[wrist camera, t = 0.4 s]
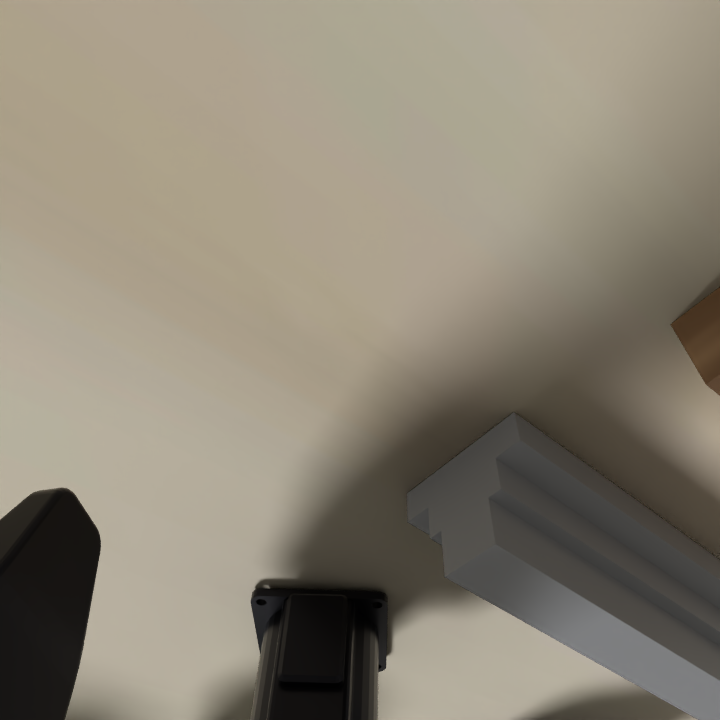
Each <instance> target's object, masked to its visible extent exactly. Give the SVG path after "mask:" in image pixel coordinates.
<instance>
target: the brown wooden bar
mask: <svg viewBox="0 0 720 720" xmlns="http://www.w3.org/2000/svg"><path fill="white" fill-rule="evenodd" d="M671 326H672V328H673V329H674V331H675V333H676V334H677V336H678V338H679V340H680V341H681V343H682V345H683V346H684V348H685V350H686V351H687V353H688V355H689V356H690V358H691V360H692V362H693V363H694V365H695V367H696V368H697V370H698V372H699V373H700V375H701V377H702V379H703V380H704V382H705V384H706V385H707V386H709V387H710V388H711V389H712V390H714V391H715V392H716V393H717V394H718V395H720V287H719V288H718V289H716V290H715V291H714V292H712V293H711V294H710V295H708V296H707V297H706V298H704V299H703V300H702V301H701V302H699V303H698V304H697V305H695V306H694V307H693V308H691V309H690V310H689V311H687V312H686V313H685V314H683V315H682V316H681V317H680V318H678V319H677V320H676V321H674V322H673V323H672V324H671Z"/></svg>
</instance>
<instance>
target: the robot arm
mask: <svg viewBox="0 0 720 720" xmlns="http://www.w3.org/2000/svg"><path fill="white" fill-rule="evenodd" d="M100 549H101V540H100V535H99V532H98V529H97V527H96V526H95V524H94V523H93V521H92V520H91V518H90V517H89V515H88V514H87V512H86V511H85V509H84V507H83V506H82V504H81V503H80V501H79V500H78V498H77V497H76V495H75V494H74V493H73V492H72V491H70V490H69V489H67V488H56V489H48V490H41V491H37V492H34V493H32V494H30V495H29V496H28V497H27V498H25V499H24V500H23V501H22V502H21V503H20V504H18V505H17V506H16V507H15V508H14V509H12V510H11V511H10V512H9V513H8V514H6V515H5V516H4V517H3V518H2V519H1V520H0V720H65V717H66V713H67V710H68V706H69V703H70V699H71V696H72V692H73V689H74V685H75V681H76V677H77V673H78V669H79V665H80V660H81V655H82V651H83V646H84V640H85V634H86V629H87V623H88V618H89V612H90V606H91V601H92V595H93V589H94V584H95V578H96V573H97V567H98V561H99V556H100ZM251 606H252V611H253V617H254V622H255V628H256V633H257V639H258V644H259V650H260V660H259V667H258V673H257V679H256V685H255V692H254V698H253V704H252V710H251V717H250V720H378V672H380V671H383V670H385V669H386V651H387V611H388V598H387V595H386V594H385V593H382V592H376V591H335V590H294V589H257V590H254V591H253V592H252V598H251Z"/></svg>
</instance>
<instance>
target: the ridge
mask: <svg viewBox="0 0 720 720" xmlns="http://www.w3.org/2000/svg"><path fill="white" fill-rule="evenodd" d="M407 521H408V523H410V524H411V525H413V526H415V527H416V528H418V529H420V530H421V531H423V532H425V533H427V534H428V535H430V539H432V540H433V541H435V542H437V543H439V544H440V545H442V550H443V563H444V577H445V578H447V579H449V580H451V581H452V582H454V583H456V584H458V585H459V586H461V587H463V588H465V589H467V590H468V591H470V592H472V593H474V594H475V595H477V596H479V597H481V598H483V599H484V600H486V601H488V602H490V603H491V604H493V605H495V606H497V607H499V608H500V609H502V610H504V611H506V612H507V613H509V614H511V615H513V616H515V617H516V618H518V619H520V620H522V621H523V622H525V623H527V624H529V625H531V626H532V627H534V628H536V629H538V630H539V631H541V632H543V633H545V634H547V635H548V636H550V637H552V638H554V639H555V640H557V641H559V642H561V643H563V644H564V645H566V646H568V647H570V648H572V649H573V650H575V651H577V652H579V653H580V654H582V655H584V656H586V657H588V658H589V659H591V660H593V661H595V662H596V663H598V664H600V665H602V666H604V667H605V668H607V669H609V670H611V671H612V672H614V673H616V674H618V675H620V676H621V677H623V678H625V679H627V680H628V681H630V682H632V683H634V684H636V685H637V686H639V687H641V688H643V689H644V690H646V691H648V692H650V693H652V694H653V695H655V696H657V697H659V698H660V699H662V700H664V701H666V702H668V703H669V704H671V705H673V706H675V707H676V708H678V709H680V710H682V711H684V712H685V713H687V714H689V715H691V716H692V717H694V718H696V719H698V720H720V560H719V559H718V558H716V557H715V556H714V555H712V554H711V553H709V552H708V551H707V550H705V549H704V548H702V547H701V546H700V545H698V544H697V543H696V542H694V541H693V540H691V539H690V538H689V537H687V536H686V535H684V534H683V533H682V532H680V531H679V530H677V529H676V528H675V527H673V526H672V525H670V524H669V523H668V522H666V521H665V520H664V519H662V518H661V517H659V516H658V515H657V514H655V513H654V512H652V511H651V510H650V509H648V508H647V507H645V506H644V505H643V504H641V503H640V502H638V501H637V500H636V499H634V498H633V497H632V496H630V495H629V494H627V493H626V492H625V491H623V490H622V489H620V488H619V487H618V486H616V485H615V484H613V483H612V482H611V481H609V480H608V479H606V478H605V477H604V476H602V475H601V474H600V473H598V472H597V471H595V470H594V469H593V468H591V467H590V466H588V465H587V464H586V463H584V462H583V461H581V460H580V459H579V458H577V457H576V456H574V455H573V454H572V453H570V452H569V451H567V450H566V449H565V448H563V447H562V446H561V445H559V444H558V443H556V442H555V441H554V440H552V439H551V438H549V437H548V436H547V435H545V434H544V433H542V432H541V431H540V430H538V429H537V428H535V427H534V426H533V425H531V424H530V423H529V422H527V421H526V420H524V419H523V418H522V417H520V416H519V415H517V414H516V413H515V412H513V413H512V414H511V415H510V416H508V417H507V418H506V419H504V420H503V421H502V422H500V423H499V424H498V425H496V426H495V427H494V428H492V429H491V430H490V431H489V432H487V433H486V434H485V435H483V436H482V437H481V438H479V439H478V440H477V441H475V442H474V443H473V444H471V445H470V446H469V447H468V448H466V449H465V450H464V451H462V452H461V453H460V454H458V455H457V456H456V457H454V458H453V459H452V460H450V461H449V462H448V463H447V464H445V465H444V466H443V467H441V468H440V469H439V470H437V471H436V472H435V473H433V474H432V475H431V476H429V477H428V478H427V479H426V480H424V481H423V482H422V483H420V484H419V485H418V486H416V487H415V488H414V489H412V490H411V491H410V492H409V493H407Z"/></svg>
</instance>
